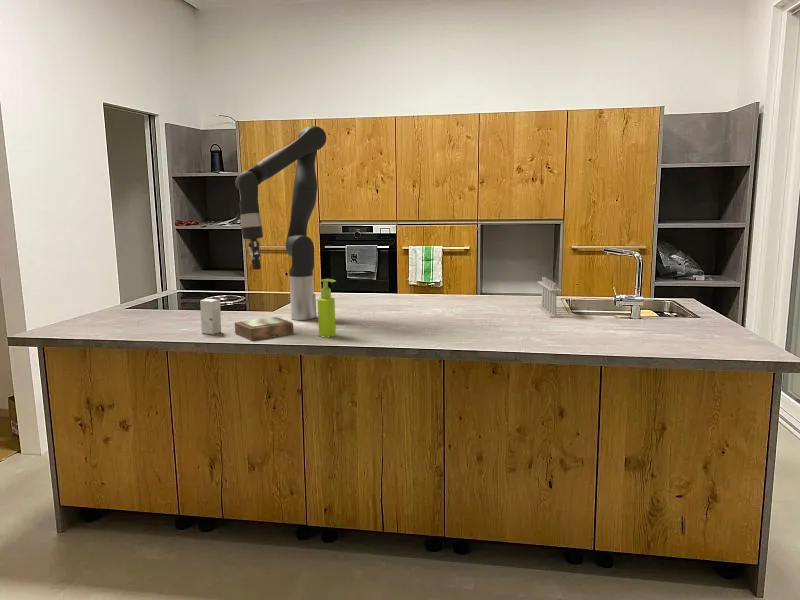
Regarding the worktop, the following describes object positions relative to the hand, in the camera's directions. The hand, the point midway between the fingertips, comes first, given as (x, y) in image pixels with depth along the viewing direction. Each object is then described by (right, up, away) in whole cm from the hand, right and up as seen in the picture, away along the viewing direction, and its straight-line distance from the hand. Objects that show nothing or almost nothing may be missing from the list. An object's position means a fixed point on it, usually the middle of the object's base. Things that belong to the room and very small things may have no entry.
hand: (256, 269), depth 231 cm
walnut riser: (+5, -24, -11) cm, 27 cm away
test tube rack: (+115, -17, +22) cm, 118 cm away
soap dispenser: (+29, -24, -16) cm, 41 cm away
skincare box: (-14, -24, -8) cm, 29 cm away
